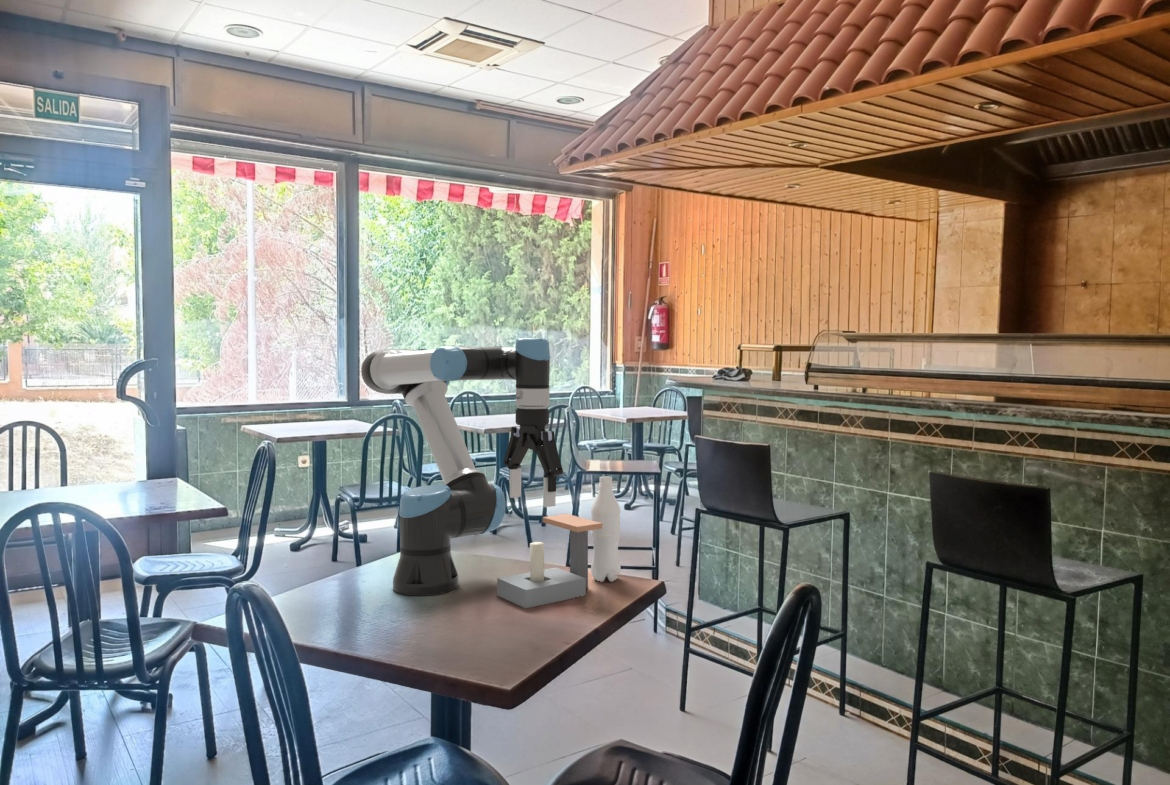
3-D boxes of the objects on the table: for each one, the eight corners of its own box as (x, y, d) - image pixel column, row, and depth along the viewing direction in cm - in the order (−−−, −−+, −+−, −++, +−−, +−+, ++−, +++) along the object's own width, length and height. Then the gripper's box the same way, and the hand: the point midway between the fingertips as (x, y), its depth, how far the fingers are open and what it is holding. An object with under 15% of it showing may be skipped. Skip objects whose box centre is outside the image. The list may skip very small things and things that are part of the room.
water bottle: (625, 578, 198) (625, 476, 197) (610, 585, 192) (610, 480, 191) (600, 574, 202) (600, 474, 201) (585, 580, 196) (585, 477, 195)
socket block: (497, 595, 184) (497, 578, 184) (555, 583, 193) (555, 567, 193) (525, 608, 174) (525, 590, 174) (585, 595, 184) (585, 578, 184)
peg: (539, 593, 185) (539, 541, 185) (547, 596, 183) (546, 543, 182) (527, 595, 183) (527, 543, 183) (535, 599, 181) (535, 545, 180)
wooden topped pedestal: (542, 585, 192) (542, 517, 192) (567, 580, 196) (566, 513, 196) (577, 598, 181) (577, 526, 180) (602, 593, 185) (602, 523, 185)
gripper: (489, 404, 189) (488, 495, 190) (551, 411, 169) (550, 512, 170) (516, 403, 193) (515, 491, 194) (579, 410, 174) (578, 508, 175)
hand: (531, 501), depth 182 cm, fingers open, 13 cm apart
